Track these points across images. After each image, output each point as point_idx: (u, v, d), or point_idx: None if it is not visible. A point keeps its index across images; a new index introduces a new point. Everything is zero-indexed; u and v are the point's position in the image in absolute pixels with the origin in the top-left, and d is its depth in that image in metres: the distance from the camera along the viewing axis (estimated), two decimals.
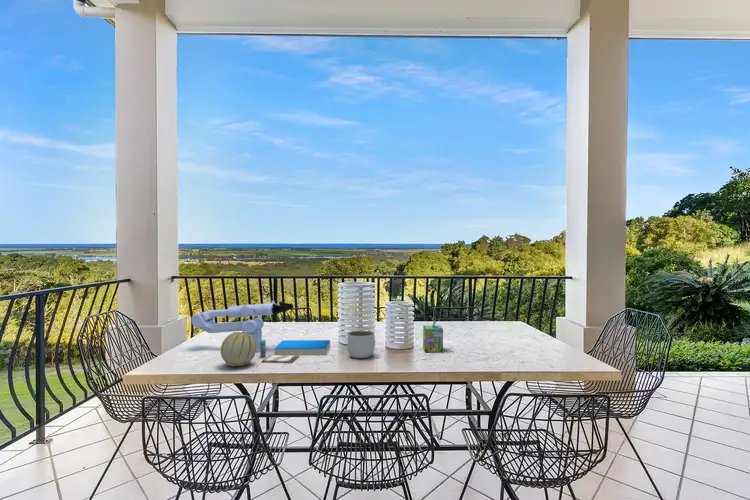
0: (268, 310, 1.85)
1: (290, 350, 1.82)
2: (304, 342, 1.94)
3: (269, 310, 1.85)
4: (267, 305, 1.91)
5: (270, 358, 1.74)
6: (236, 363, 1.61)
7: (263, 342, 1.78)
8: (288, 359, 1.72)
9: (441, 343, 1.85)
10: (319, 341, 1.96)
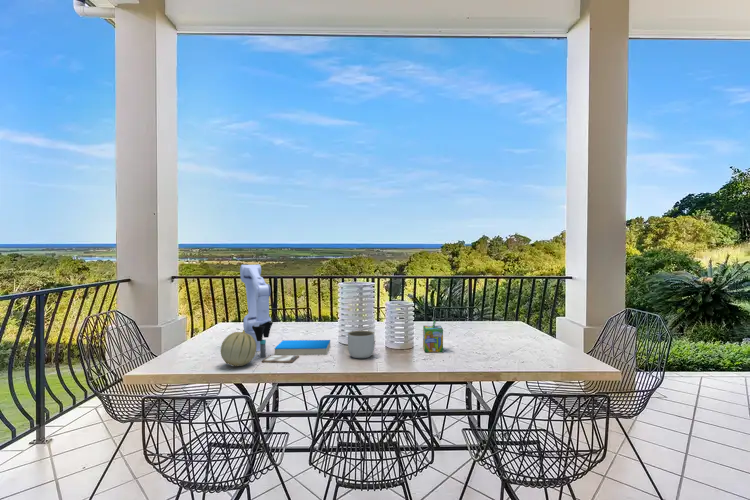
0: (256, 323, 1.72)
1: (290, 350, 1.83)
2: (304, 342, 1.94)
3: (256, 324, 1.72)
4: (265, 316, 1.77)
5: (270, 358, 1.74)
6: (236, 363, 1.61)
7: (263, 342, 1.78)
8: (288, 359, 1.72)
9: (441, 343, 1.85)
10: (319, 341, 1.96)
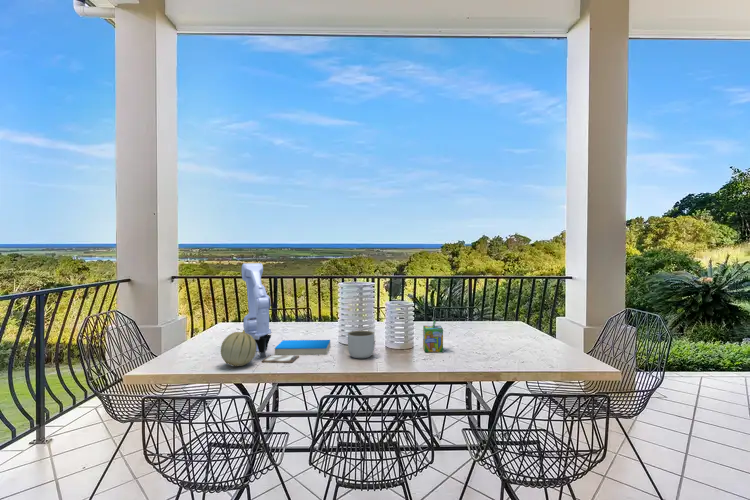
0: (256, 336, 1.72)
1: (290, 350, 1.83)
2: (304, 342, 1.94)
3: (256, 337, 1.72)
4: (265, 329, 1.77)
5: (270, 358, 1.74)
6: (236, 363, 1.61)
7: None
8: (288, 359, 1.72)
9: (441, 343, 1.85)
10: (319, 341, 1.96)
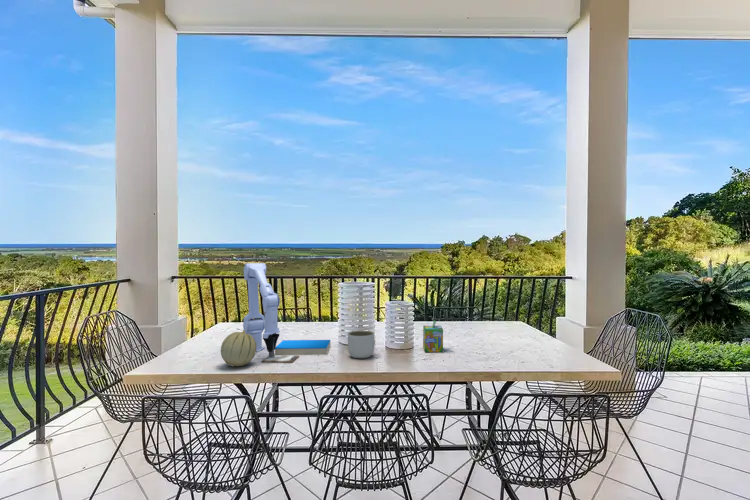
0: (265, 335, 1.68)
1: (290, 350, 1.83)
2: (304, 342, 1.94)
3: (265, 336, 1.68)
4: (273, 327, 1.73)
5: (270, 358, 1.74)
6: (236, 363, 1.61)
7: None
8: (288, 359, 1.72)
9: (441, 343, 1.85)
10: (319, 341, 1.96)
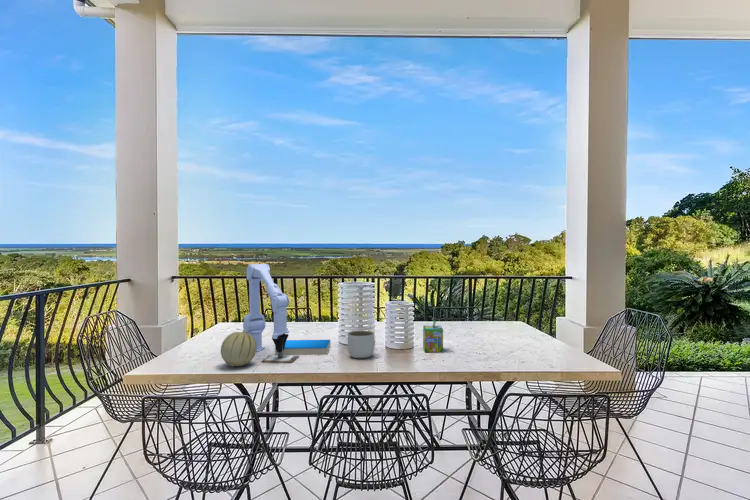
0: (274, 335, 1.68)
1: (291, 350, 1.83)
2: (304, 342, 1.94)
3: (274, 337, 1.68)
4: (282, 328, 1.73)
5: (270, 358, 1.74)
6: (236, 363, 1.61)
7: None
8: (288, 359, 1.72)
9: (441, 343, 1.85)
10: (319, 341, 1.96)
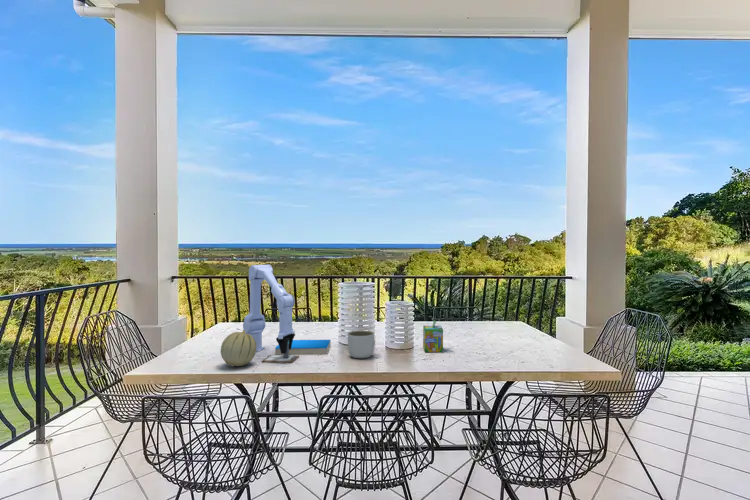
0: (280, 336, 1.67)
1: (291, 350, 1.83)
2: (305, 342, 1.95)
3: (280, 337, 1.67)
4: (288, 328, 1.72)
5: (270, 358, 1.74)
6: (236, 363, 1.61)
7: None
8: (288, 359, 1.72)
9: (441, 343, 1.85)
10: (319, 341, 1.97)
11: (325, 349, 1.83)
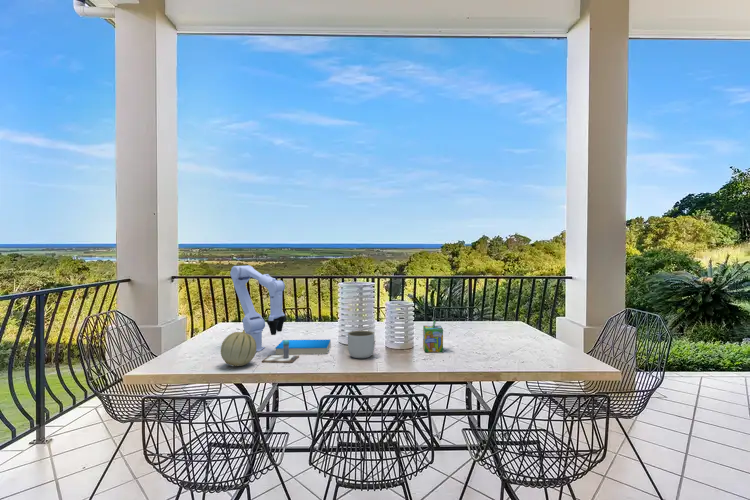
0: (270, 318, 1.79)
1: (291, 349, 1.84)
2: (305, 341, 1.95)
3: (270, 319, 1.79)
4: (278, 311, 1.84)
5: (270, 358, 1.74)
6: (236, 363, 1.61)
7: (286, 342, 1.73)
8: (288, 359, 1.72)
9: (441, 343, 1.85)
10: (319, 340, 1.97)
11: (325, 349, 1.84)
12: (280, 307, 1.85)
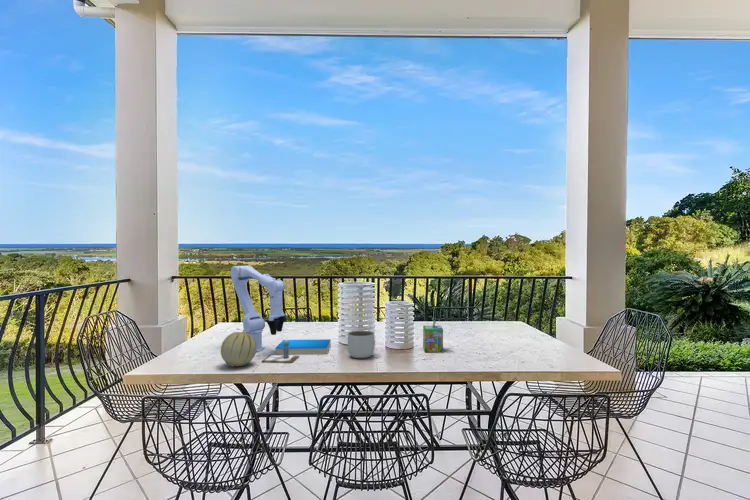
0: (270, 318, 1.79)
1: (291, 349, 1.84)
2: (305, 341, 1.95)
3: (270, 319, 1.79)
4: (278, 311, 1.84)
5: (270, 358, 1.74)
6: (236, 363, 1.61)
7: (286, 342, 1.73)
8: (288, 359, 1.72)
9: (441, 343, 1.85)
10: (320, 340, 1.97)
11: (325, 349, 1.84)
12: (280, 307, 1.85)
